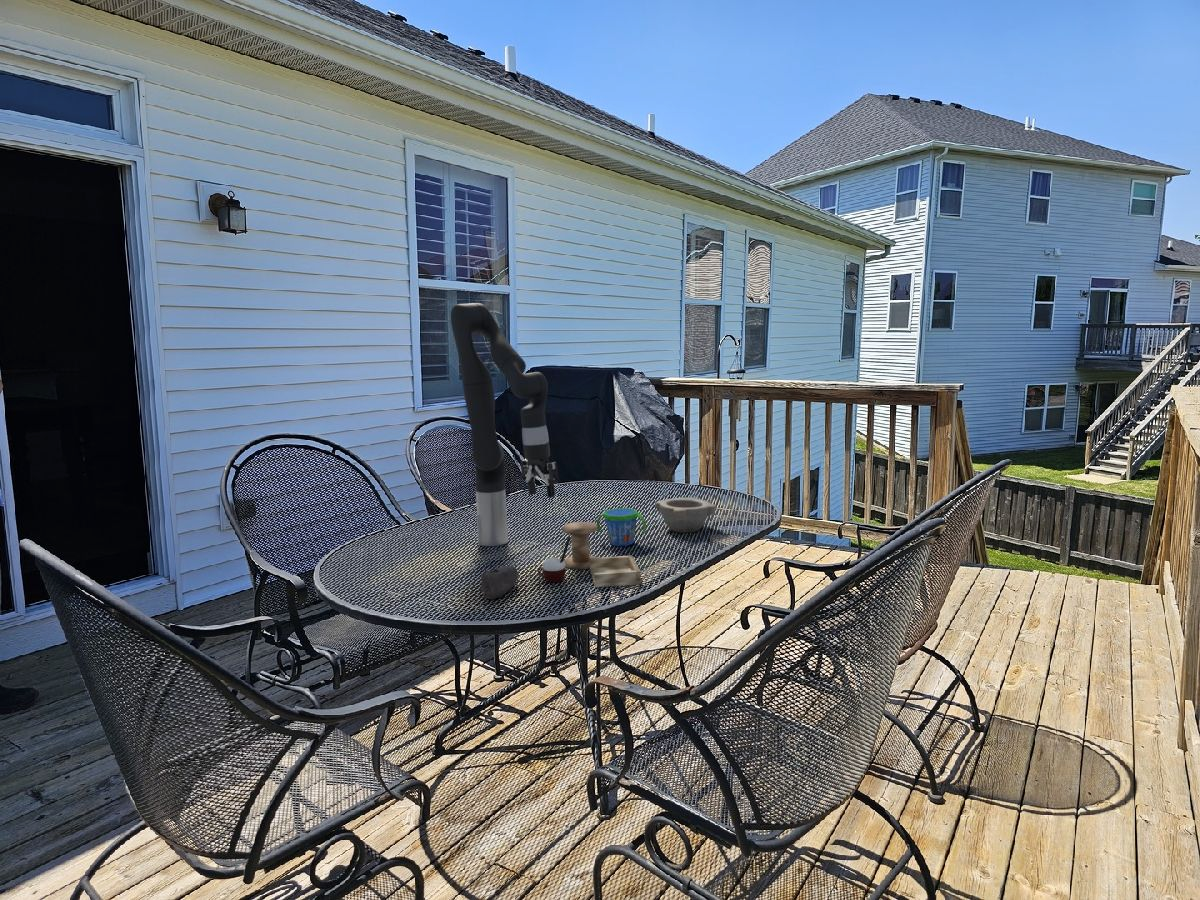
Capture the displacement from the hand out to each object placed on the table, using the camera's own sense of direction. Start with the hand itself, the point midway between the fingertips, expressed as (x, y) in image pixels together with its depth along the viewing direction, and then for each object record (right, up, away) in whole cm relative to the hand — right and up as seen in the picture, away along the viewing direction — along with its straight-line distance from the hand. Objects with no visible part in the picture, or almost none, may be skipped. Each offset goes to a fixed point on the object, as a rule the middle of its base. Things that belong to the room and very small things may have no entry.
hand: (541, 495), depth 216 cm
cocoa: (+5, -22, -20) cm, 30 cm away
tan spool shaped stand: (+12, -19, -6) cm, 23 cm away
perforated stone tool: (-8, -23, -28) cm, 37 cm away
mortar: (+46, -13, +27) cm, 54 cm away
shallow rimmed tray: (+21, -21, -18) cm, 35 cm away
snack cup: (+24, -16, +13) cm, 31 cm away
